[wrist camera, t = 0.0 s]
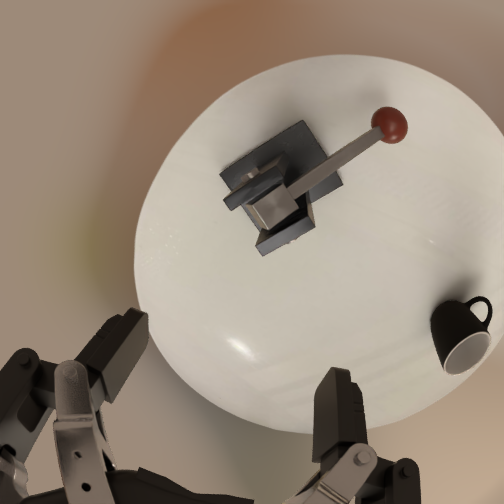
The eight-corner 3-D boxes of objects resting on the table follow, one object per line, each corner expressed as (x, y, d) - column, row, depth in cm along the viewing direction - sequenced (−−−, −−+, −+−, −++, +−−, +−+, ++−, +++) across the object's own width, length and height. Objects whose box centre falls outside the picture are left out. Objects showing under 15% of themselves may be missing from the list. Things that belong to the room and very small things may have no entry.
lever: (379, 106, 22) (402, 97, 19) (396, 137, 23) (420, 132, 20) (238, 197, 21) (246, 196, 18) (263, 233, 22) (276, 240, 19)
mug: (440, 341, 39) (458, 381, 30) (414, 323, 38) (433, 366, 29) (484, 294, 34) (511, 329, 25) (462, 270, 33) (493, 306, 24)
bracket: (302, 120, 29) (308, 108, 15) (341, 182, 32) (375, 225, 18) (221, 172, 34) (167, 206, 19) (261, 229, 36) (236, 297, 22)
